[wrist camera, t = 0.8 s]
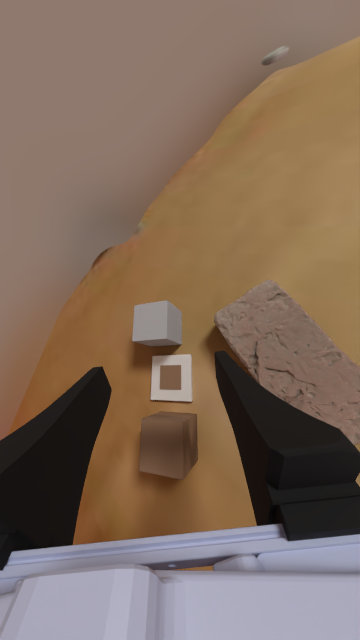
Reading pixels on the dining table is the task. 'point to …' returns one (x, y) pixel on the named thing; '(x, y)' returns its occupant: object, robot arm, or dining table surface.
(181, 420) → the walnut block
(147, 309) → the grey block
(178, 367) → the card
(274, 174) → the dining table surface
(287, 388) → the brick
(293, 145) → the dining table surface
